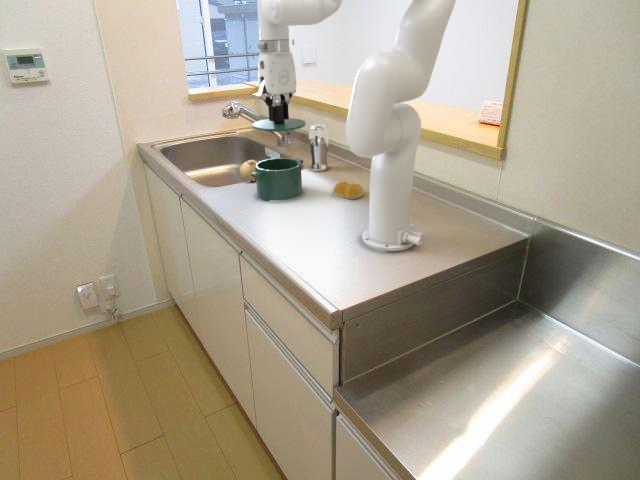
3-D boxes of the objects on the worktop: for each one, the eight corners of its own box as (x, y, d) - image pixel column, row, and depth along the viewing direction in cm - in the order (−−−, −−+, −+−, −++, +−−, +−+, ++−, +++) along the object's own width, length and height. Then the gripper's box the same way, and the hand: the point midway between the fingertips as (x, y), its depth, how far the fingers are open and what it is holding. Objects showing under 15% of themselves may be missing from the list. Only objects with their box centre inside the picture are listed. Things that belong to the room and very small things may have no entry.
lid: (316, 126, 125) (316, 103, 122) (278, 136, 115) (277, 111, 113) (280, 119, 134) (278, 98, 131) (241, 128, 124) (239, 105, 121)
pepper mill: (332, 167, 162) (332, 125, 155) (322, 172, 157) (321, 129, 150) (316, 165, 165) (315, 123, 159) (306, 170, 160) (304, 127, 154)
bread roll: (360, 201, 131) (360, 188, 130) (330, 198, 134) (330, 186, 132) (365, 191, 138) (366, 179, 137) (337, 189, 141) (337, 177, 139)
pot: (317, 190, 140) (316, 160, 136) (272, 208, 128) (269, 176, 124) (286, 181, 149) (285, 153, 145) (241, 197, 136) (238, 167, 132)
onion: (235, 180, 152) (232, 159, 149) (253, 174, 157) (251, 154, 154) (250, 184, 147) (248, 163, 144) (268, 178, 152) (267, 158, 149)
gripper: (260, 49, 108) (266, 127, 116) (307, 46, 119) (309, 116, 127) (240, 48, 112) (247, 123, 121) (287, 45, 123) (290, 113, 131)
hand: (278, 119), depth 124 cm, fingers closed on lid, 3 cm apart
